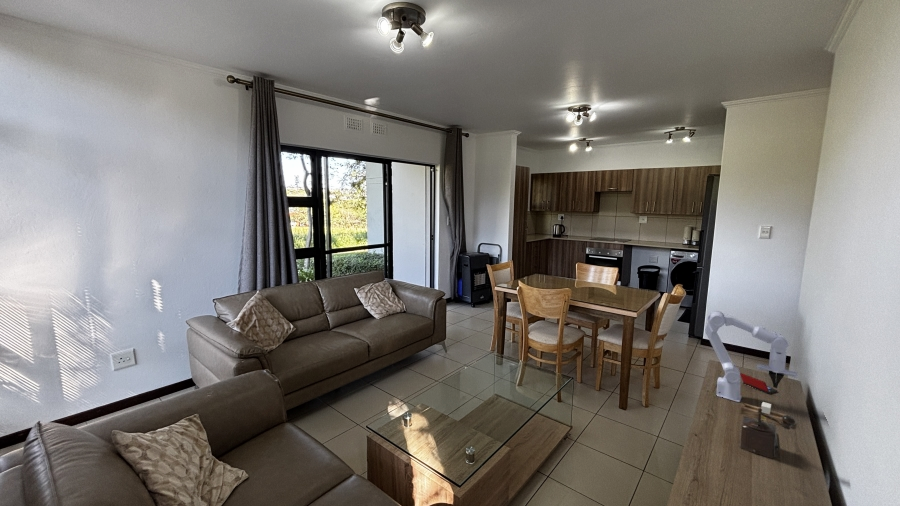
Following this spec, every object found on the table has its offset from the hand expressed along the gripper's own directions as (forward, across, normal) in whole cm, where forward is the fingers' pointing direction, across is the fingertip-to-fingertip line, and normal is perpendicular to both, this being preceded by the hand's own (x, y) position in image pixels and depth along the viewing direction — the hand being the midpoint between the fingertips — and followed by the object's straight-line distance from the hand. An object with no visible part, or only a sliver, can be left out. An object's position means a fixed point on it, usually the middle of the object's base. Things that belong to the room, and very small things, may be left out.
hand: (775, 387), depth 174 cm
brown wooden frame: (+10, -2, -16) cm, 19 cm away
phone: (+10, 0, -36) cm, 37 cm away
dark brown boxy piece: (+10, +1, -46) cm, 47 cm away
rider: (+9, -2, -16) cm, 18 cm away
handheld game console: (+10, -8, +18) cm, 23 cm away
